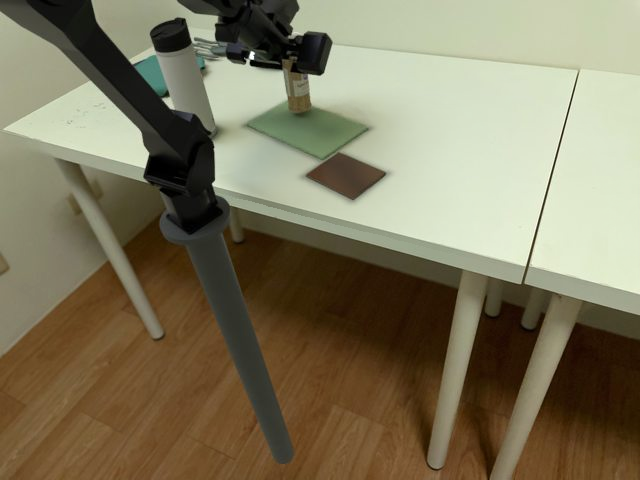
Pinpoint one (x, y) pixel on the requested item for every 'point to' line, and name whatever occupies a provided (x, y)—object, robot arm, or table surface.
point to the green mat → (308, 129)
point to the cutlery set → (154, 73)
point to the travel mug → (182, 70)
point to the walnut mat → (346, 175)
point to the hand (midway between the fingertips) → (299, 69)
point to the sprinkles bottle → (296, 86)
